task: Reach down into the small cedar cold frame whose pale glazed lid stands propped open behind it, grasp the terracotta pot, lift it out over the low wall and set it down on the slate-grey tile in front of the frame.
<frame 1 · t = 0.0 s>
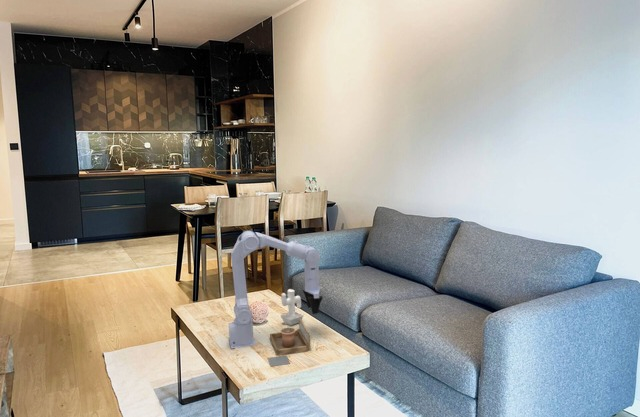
hand: (312, 310, 198), 10 cm above the table, fingers open, 7 cm apart
figurine: (292, 324, 211), on the table
cold frame: (288, 345, 188), on the table
pot: (288, 344, 188), resting on cold frame
lid: (304, 343, 190), on the table
tile: (278, 362, 175), on the table
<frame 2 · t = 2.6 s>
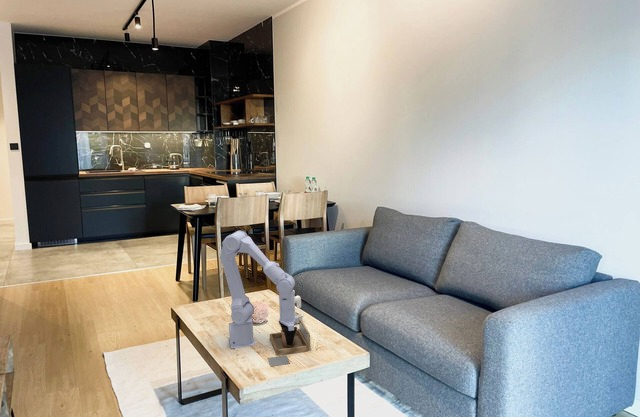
hand: (288, 341, 188), 2 cm above the table, fingers closed on pot, 5 cm apart
pot: (288, 344, 188), point 1 cm above the table, touching cold frame, gripper
everything else where it was.
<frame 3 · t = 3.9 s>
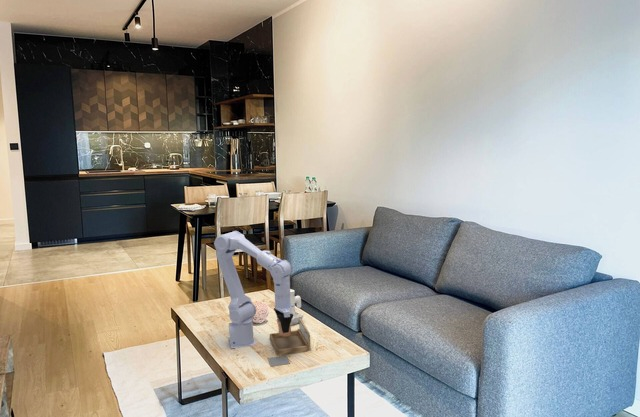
hand: (284, 329, 182), 9 cm above the table, fingers closed on pot, 5 cm apart
pot: (285, 333, 182), point 7 cm above the table, touching gripper
everything else where it was.
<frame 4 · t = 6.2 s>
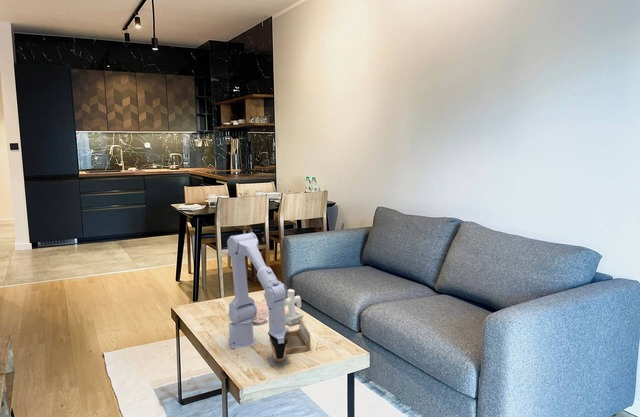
hand: (278, 354, 175), 3 cm above the table, fingers closed on pot, 5 cm apart
pot: (279, 359, 176), point 1 cm above the table, tilted 5°, touching gripper
everything else where it was.
when the fingers open (3 cm above the table, at t = 6.4 s): pot stays where it is, resting on tile.
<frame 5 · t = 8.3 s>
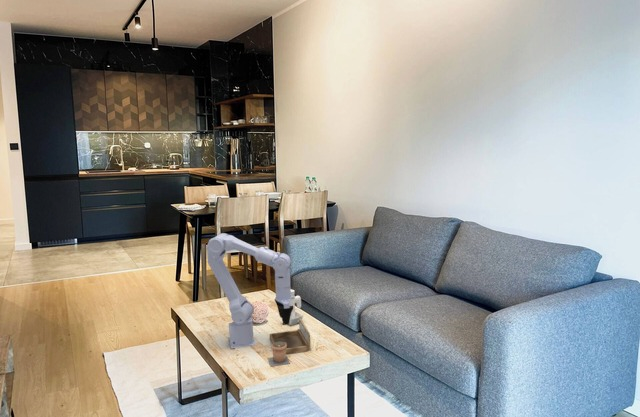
hand: (284, 320, 188), 10 cm above the table, fingers open, 7 cm apart
pot: (279, 359, 176), point 1 cm above the table, touching tile
everything else where it was.
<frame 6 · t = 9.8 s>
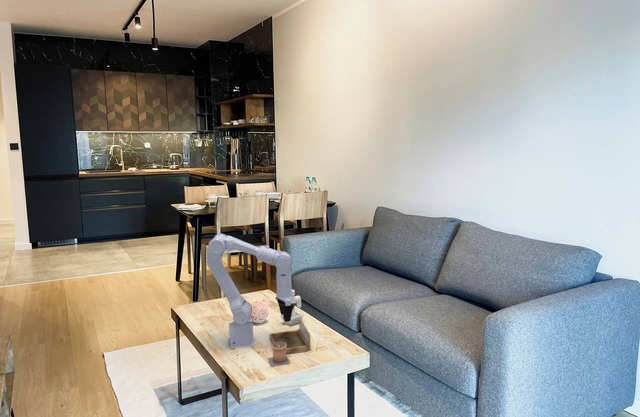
hand: (285, 317, 191), 10 cm above the table, fingers open, 7 cm apart
nothing on the table moved.
at the end: pot inside the target area on the tile (0.6 cm from its centre), point 0.6 cm above the tile's base; pot tilted 0°; the gripper is holding nothing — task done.
